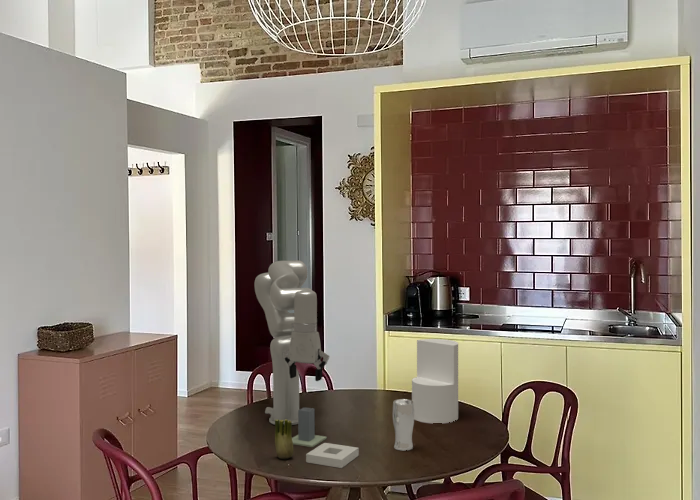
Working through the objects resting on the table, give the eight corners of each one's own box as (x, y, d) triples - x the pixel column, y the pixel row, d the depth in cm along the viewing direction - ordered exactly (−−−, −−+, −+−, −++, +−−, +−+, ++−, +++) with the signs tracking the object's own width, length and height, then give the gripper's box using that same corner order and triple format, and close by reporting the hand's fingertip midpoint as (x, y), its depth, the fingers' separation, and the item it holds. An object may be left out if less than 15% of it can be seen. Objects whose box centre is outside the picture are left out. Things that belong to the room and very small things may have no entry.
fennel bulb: (272, 456, 209) (272, 418, 208) (286, 453, 212) (285, 416, 211) (282, 462, 204) (282, 423, 204) (296, 458, 207) (296, 420, 207)
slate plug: (298, 440, 223) (298, 410, 223) (304, 436, 227) (303, 407, 227) (309, 441, 222) (308, 411, 221) (314, 438, 225) (314, 408, 225)
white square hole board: (306, 462, 204) (306, 454, 204) (324, 450, 215) (324, 442, 215) (341, 468, 199) (341, 459, 199) (358, 455, 209) (358, 447, 209)
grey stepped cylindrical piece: (431, 408, 264) (430, 337, 263) (467, 416, 252) (467, 342, 251) (402, 417, 252) (402, 342, 251) (439, 426, 240) (439, 348, 239)
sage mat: (285, 443, 222) (285, 441, 222) (300, 434, 231) (300, 433, 231) (312, 447, 218) (312, 445, 218) (326, 438, 227) (326, 436, 227)
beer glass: (400, 452, 212) (400, 405, 212) (388, 446, 218) (388, 400, 218) (418, 449, 215) (418, 402, 215) (406, 443, 222) (406, 398, 221)
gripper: (277, 327, 224) (277, 378, 224) (323, 331, 216) (323, 384, 217) (288, 324, 230) (289, 373, 231) (333, 328, 223) (333, 379, 224)
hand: (305, 378), depth 224 cm, fingers open, 9 cm apart
